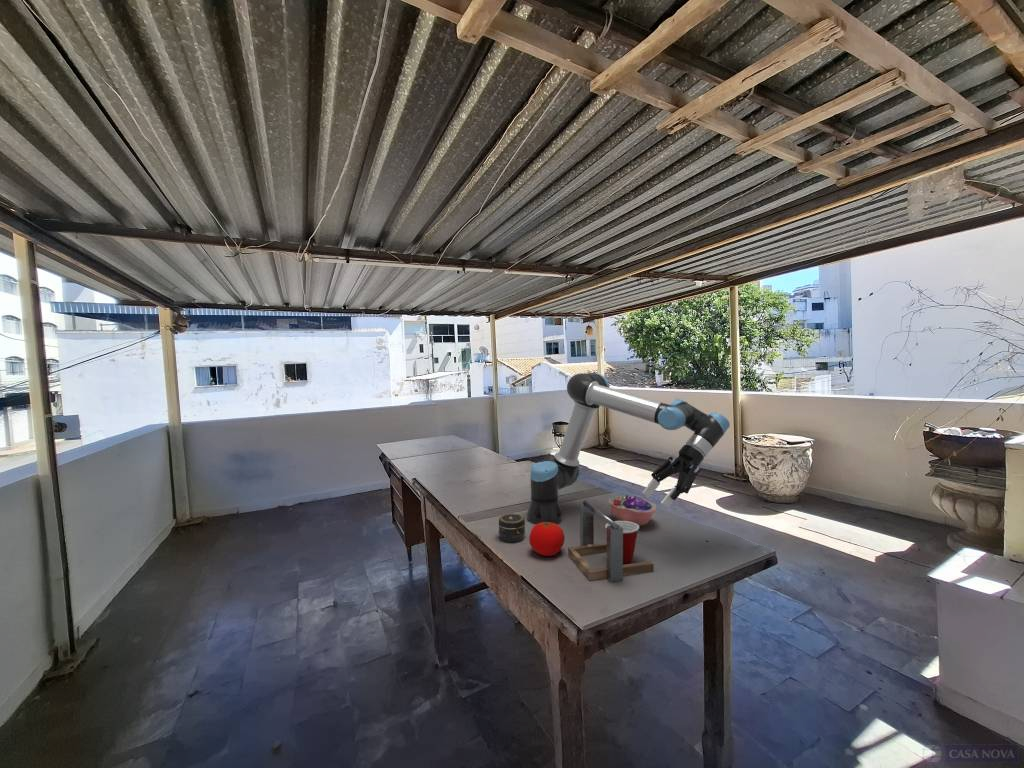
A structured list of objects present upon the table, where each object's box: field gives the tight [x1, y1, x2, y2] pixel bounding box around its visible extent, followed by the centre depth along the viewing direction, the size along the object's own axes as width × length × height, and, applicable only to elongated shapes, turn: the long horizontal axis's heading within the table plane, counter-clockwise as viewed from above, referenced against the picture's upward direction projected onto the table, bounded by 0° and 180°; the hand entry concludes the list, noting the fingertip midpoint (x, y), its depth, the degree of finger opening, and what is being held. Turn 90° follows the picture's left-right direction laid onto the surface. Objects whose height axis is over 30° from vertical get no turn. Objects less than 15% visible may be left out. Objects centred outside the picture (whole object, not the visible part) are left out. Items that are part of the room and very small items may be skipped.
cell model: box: [608, 494, 657, 527], centre depth 160 cm, size 17×20×11 cm
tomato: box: [528, 522, 566, 557], centre depth 134 cm, size 11×12×10 cm
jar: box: [498, 513, 526, 544], centre depth 147 cm, size 10×10×8 cm
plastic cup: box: [604, 520, 640, 565], centre depth 128 cm, size 11×11×12 cm
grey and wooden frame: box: [567, 500, 655, 584], centre depth 127 cm, size 22×22×17 cm
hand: (654, 500), depth 130 cm, fingers open, 10 cm apart
